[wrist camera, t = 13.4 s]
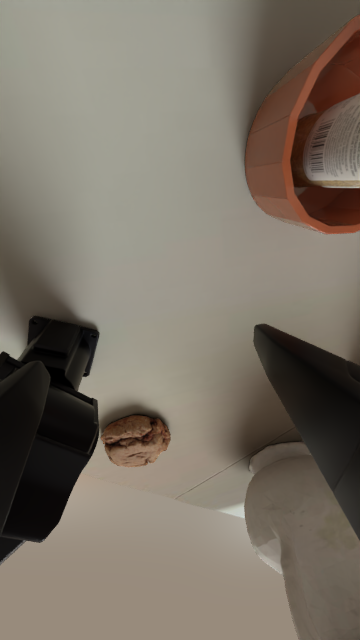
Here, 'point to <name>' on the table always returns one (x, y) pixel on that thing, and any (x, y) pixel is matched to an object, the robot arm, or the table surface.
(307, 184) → the sprinkles bottle
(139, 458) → the cookie
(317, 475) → the ceramic pitcher
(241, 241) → the table surface
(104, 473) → the table surface
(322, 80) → the bowl
